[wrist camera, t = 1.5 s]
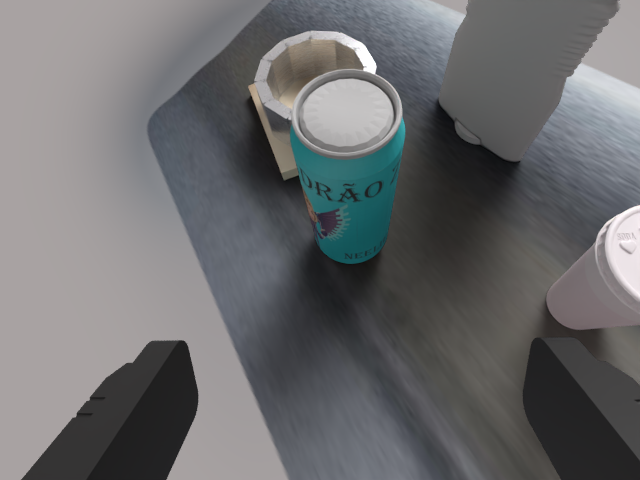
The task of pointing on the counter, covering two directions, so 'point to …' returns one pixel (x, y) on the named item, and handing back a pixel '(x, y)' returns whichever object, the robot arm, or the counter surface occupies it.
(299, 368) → the counter surface
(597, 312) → the smoothie
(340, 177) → the beverage can
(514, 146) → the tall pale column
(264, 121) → the base board
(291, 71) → the collar
